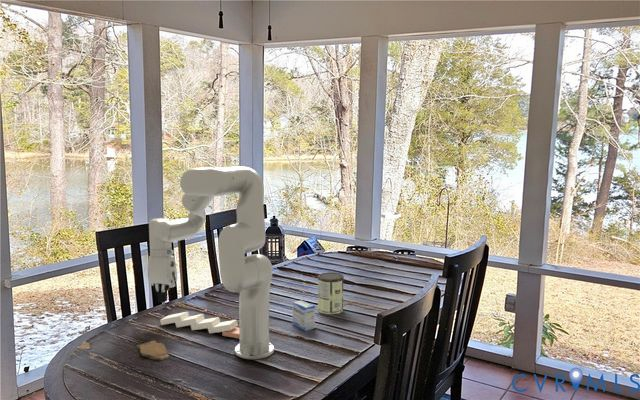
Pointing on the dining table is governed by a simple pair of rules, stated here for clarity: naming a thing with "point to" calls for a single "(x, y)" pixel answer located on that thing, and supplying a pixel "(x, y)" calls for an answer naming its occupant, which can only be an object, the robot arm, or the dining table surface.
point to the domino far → (174, 318)
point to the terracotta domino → (231, 333)
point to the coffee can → (330, 293)
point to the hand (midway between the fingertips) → (162, 301)
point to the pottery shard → (153, 350)
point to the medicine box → (303, 315)
